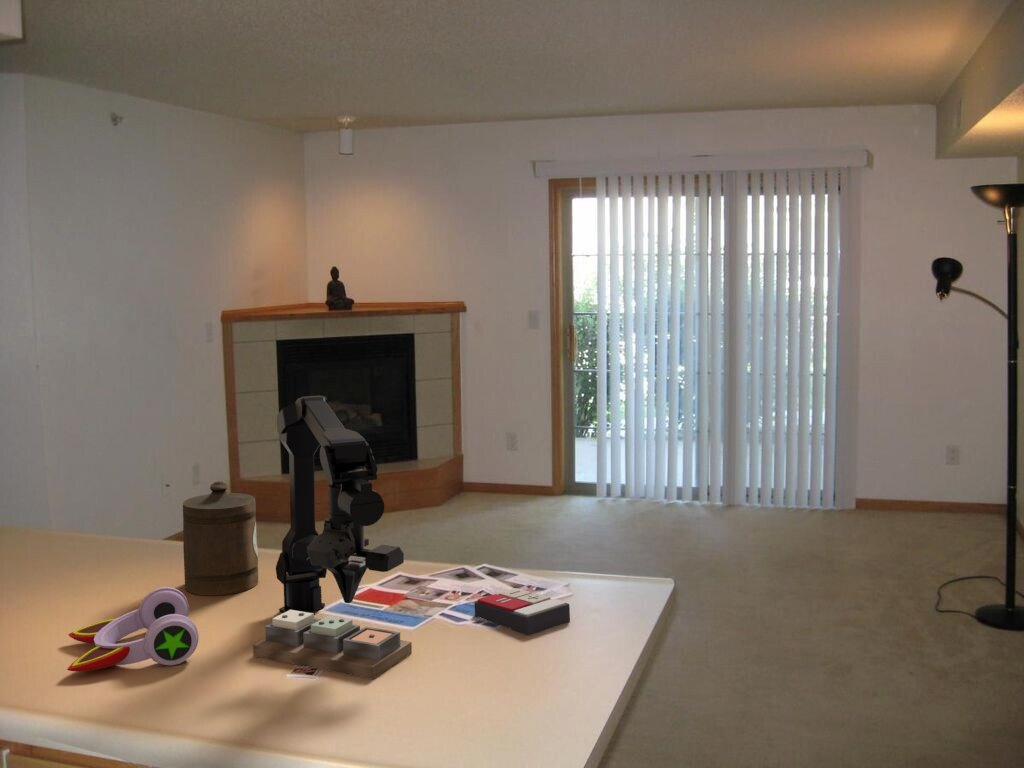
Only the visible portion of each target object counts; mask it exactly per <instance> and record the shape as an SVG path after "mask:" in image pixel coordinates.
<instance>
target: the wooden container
mask: <svg viewBox="0 0 1024 768" xmlns="http://www.w3.org/2000/svg"><path fill="white" fill-rule="evenodd" d="M209 489H210V491H211V493H209V494H203V495H197V496H193V497H189V498H187V499H186V500H184V501H183V502H182V521H183V522H182V523H183V524H182V527H183V529H182V530H183V531H182V533H183V541H182V542H183V543H182V545H183V573H184V589H185V590H186V591H187V592H188V593H190V594H194V595H198V596H203V597H204V596H205V597H207V596H208V597H209V596H212V597H215V596H217V597H218V596H227V595H232V594H233V595H234V594H238V593H241V592H246V591H248V590H251V589H253V588H254V587H256V586H257V585H258V584H259V556H258V555H259V554H258V552H259V551H258V539H257V538H258V536H257V520H256V519H257V517H256V513H257V511H256V509H257V507H256V506H257V505H256V502H257V501H256V497H255V496H254V495H251V494H247V493H240V492H227V490H228V489H229V486H228V484H226V483H225V482H223V481H222V480H220V481H214V482H213V483H211V484H210V487H209Z"/></svg>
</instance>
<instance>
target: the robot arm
mask: <svg viewBox="0 0 1024 768" xmlns="http://www.w3.org/2000/svg"><path fill="white" fill-rule="evenodd" d="M327 398H328V397H326V396H323V395H309V396H306V395H305V396H301V397H299V398H297V399H296V401H295V402H293V403H290V404H289V405H287V406H284V407H283V408H282V409H280V411H279V413H278V414H277V415H276V429H277V433H278V434H279V440H280V442H281V444H282V445H283V446H284V448H285V449H286V450H287V452H288V458H289V461H288V462H289V463H288V467H289V506H290V507H289V510H290V511H289V512H290V513H289V515H290V517H289V519H290V528H289V529H288V531H287V533H286V534H285V535H284V537H283V540H282V544H281V546H282V548H281V552H280V554H279V556H278V559H277V562H276V565H275V573H276V574H275V575H276V578H277V580H278V581H279V582H280V583H281V584H282V585H283V604H284V605H283V606H282V607H280V608H278V611H279V613H280V612H281V613H285V612H287V611H289V610H296V611H302V612H308V613H314V612H316V611H318V610H320V609H323V608H324V607H326V603H324V602H322V601H323V599H322V586H321V585H320V579H325V578H327V574H328V573H327V572H328V571H329V572H330V573H331V574H332V575H333V577H334V580H335V581H336V584H337V586H338V589H339V591H340V594H341V597H342V599H343V602H344V603H345V604H350V603H353V601H354V598H355V595H356V593H357V591H358V589H359V586H360V583H361V581H362V579H363V577H364V575H365V573H366V571H367V570H369V571H374V572H378V573H379V572H381V573H385V572H388V573H389V572H390V571H391V570H393V569H395V568H397V567H398V566H400V565H402V564H404V563H405V562H404V559H405V558H404V556H405V555H404V551H403V550H402V548H401V547H400V546H395V545H389V544H380V545H378V546H376V547H374V548H373V549H366V548H365V547H367V546H369V545H370V543H369V542H370V541H369V538H365V527H370V526H373V525H375V524H376V523H377V522H379V520H380V519H381V518H382V516H383V514H384V512H385V502H384V500H383V497H382V496H381V494H379V493H378V492H377V491H376V490H373V482H371V481H377V480H378V475H377V472H378V470H379V469H378V466H377V464H376V462H377V461H376V460H375V456H374V454H373V450H372V448H371V447H370V445H369V442H367V440H366V439H365V438H364V437H363V436H362V435H361V434H360V433H359V432H358V431H355V430H352V429H348V428H345V427H344V425H343V423H342V422H341V421H340V419H339V418H338V416H337V415H336V413H335V412H334V411H333V410H332V408H331V407H330V406H329V402H328V399H327ZM318 449H319V459H320V464H321V466H322V469H323V471H324V475H325V478H326V480H327V483H328V518H327V519H325V520H324V523H323V530H322V533H320V534H319V533H318V531H317V530H316V492H315V488H316V487H315V486H316V485H315V454H316V452H317V451H318Z"/></svg>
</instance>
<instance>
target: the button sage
mask: <svg viewBox="0 0 1024 768" xmlns="http://www.w3.org/2000/svg"><path fill="white" fill-rule="evenodd" d="M320 619H321V620H319V621H317V622H315V623H314V624H312V625H311V633H315V634H321V635H327V636H333V637H337V636H339V635H341V634H342V633H344V632H346V631H348V630H349V629H351V628H353V625H354V624H353V619H350V618H345V617H344V618H343V617H338V616H332V615H327V616H325V617H324V618H323V617H322V618H320Z"/></svg>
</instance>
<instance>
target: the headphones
mask: <svg viewBox="0 0 1024 768" xmlns="http://www.w3.org/2000/svg"><path fill="white" fill-rule="evenodd" d="M189 613H190V606H189V602H188V599H187V597H186V595H185V594H184V593H183V592H181V591H180V590H179V589H178V588H174V587H172V586H163V587H158V588H155V589H154V590H152V591H150V592H148V593H147V594H146V596H145V597H144V598H143V599H142V600H141V603H140V606H139V608H137V609H135V610H132V611H129V612H127V613H125V614H122V615H120V616H118V617H117V618H111V619H110V618H109V619H107V620H103V621H100V622H96V623H94V624H90V625H87V626H84V627H82V628H79V629H78V630H74V631H72V632H70V633H67V635H68V636H69V637H70V638H72V639H74V640H75V641H76V642H77V641H78V642H80V643H86V644H91V645H95V647H93V648H92V649H89V650H88V651H87V652H86V653H84V654H83V655H81V656H80V657H78V658H77V659H76V660H73V662H72V663H71V664H69V666H68V667H67V669H66V670H67V671H71V672H79V673H80V672H89V671H90V672H91V671H97V670H101V669H106V668H110V667H111V666H124V665H125V666H126V665H131V664H136V663H140V662H143V661H148V660H150V659H151V660H152V661H154V662H155V663H157V664H159V665H163V666H176V665H179V664H182V663H183V662H186V660H188V659H189V658H190V657H191V656H192V655H193V654H194V653H195V651H196V649H197V647H198V644H199V640H200V639H199V632H198V629H197V626H196V624H195V622H193V620H191V619H190V618H189ZM144 628H145V629H146V630H147V631H146V633H145V637H143V638H140V639H136V640H133V641H129V642H122V643H117V642H118V641H119V640H121V639H123V638H125V637H126V636H128V635H130V634H133V633H136V632H138V631H139V630H142V629H144Z"/></svg>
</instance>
